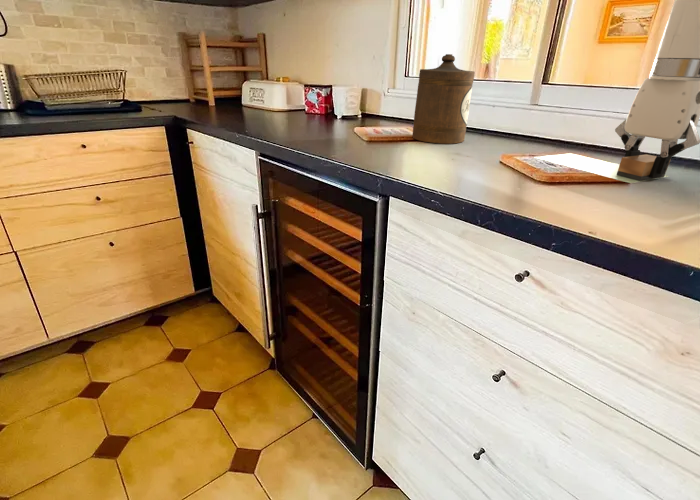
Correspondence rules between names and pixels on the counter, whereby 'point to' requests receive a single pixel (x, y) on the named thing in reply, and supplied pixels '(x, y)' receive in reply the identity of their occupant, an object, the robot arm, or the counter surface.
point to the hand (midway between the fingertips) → (641, 172)
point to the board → (588, 165)
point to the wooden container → (442, 103)
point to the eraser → (637, 167)
